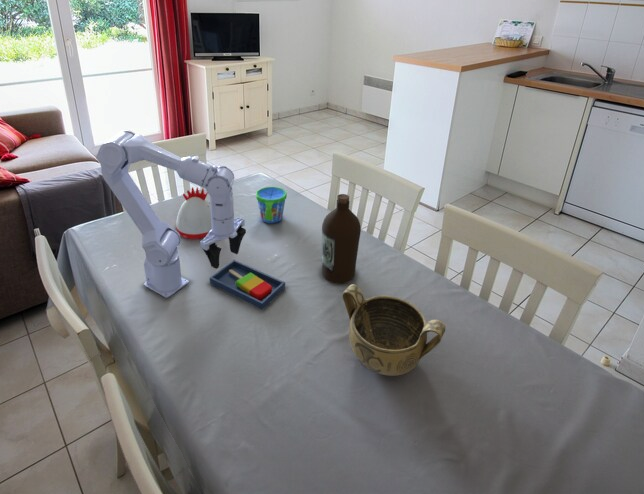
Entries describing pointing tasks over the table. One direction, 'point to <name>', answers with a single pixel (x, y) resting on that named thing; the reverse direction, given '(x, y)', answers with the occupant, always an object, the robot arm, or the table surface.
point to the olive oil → (340, 242)
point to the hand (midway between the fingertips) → (225, 259)
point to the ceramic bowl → (388, 332)
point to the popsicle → (253, 285)
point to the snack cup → (271, 203)
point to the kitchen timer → (194, 216)
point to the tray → (227, 279)
